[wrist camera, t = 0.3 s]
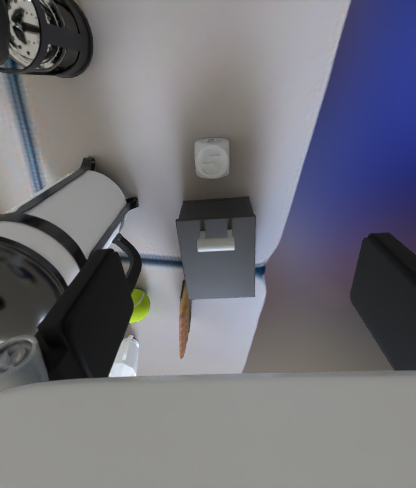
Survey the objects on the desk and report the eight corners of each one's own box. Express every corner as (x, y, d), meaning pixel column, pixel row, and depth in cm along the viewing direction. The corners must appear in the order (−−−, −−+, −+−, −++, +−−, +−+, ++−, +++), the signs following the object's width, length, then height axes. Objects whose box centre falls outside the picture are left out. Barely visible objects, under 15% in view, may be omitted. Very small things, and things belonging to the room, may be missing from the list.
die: (228, 137, 41) (229, 143, 37) (227, 169, 44) (229, 178, 40) (196, 138, 42) (194, 144, 37) (198, 169, 44) (195, 179, 40)
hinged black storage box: (183, 201, 47) (176, 223, 40) (248, 196, 46) (254, 218, 39) (192, 267, 55) (188, 296, 47) (249, 264, 54) (254, 293, 46)
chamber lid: (176, 218, 39) (170, 236, 35) (255, 213, 38) (259, 231, 34) (188, 296, 47) (185, 318, 43) (254, 293, 46) (258, 316, 42)
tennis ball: (155, 305, 61) (148, 329, 55) (125, 305, 61) (115, 329, 55) (150, 281, 57) (142, 304, 51) (118, 282, 57) (107, 305, 52)
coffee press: (63, 235, 52) (-87, 385, 26) (47, 150, 43) (-196, 250, 18) (152, 245, 52) (90, 402, 27) (153, 164, 44) (65, 279, 18)
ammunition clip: (183, 279, 57) (175, 323, 46) (191, 280, 57) (186, 324, 46) (183, 315, 62) (176, 361, 52) (191, 315, 62) (186, 361, 52)
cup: (115, 348, 69) (104, 378, 63) (119, 323, 64) (107, 352, 57) (142, 354, 70) (134, 383, 63) (148, 329, 65) (139, 358, 58)
